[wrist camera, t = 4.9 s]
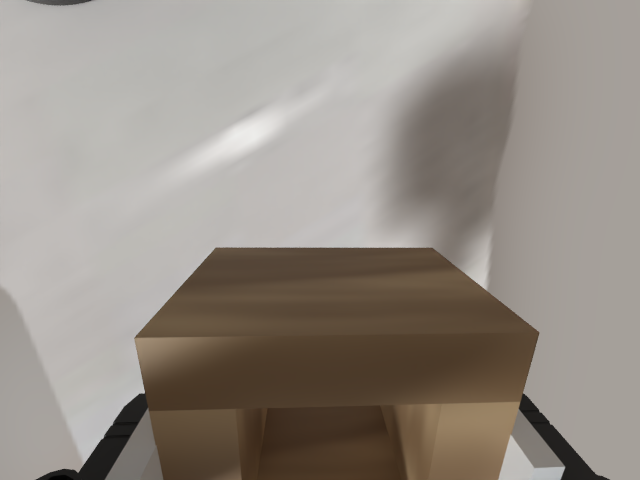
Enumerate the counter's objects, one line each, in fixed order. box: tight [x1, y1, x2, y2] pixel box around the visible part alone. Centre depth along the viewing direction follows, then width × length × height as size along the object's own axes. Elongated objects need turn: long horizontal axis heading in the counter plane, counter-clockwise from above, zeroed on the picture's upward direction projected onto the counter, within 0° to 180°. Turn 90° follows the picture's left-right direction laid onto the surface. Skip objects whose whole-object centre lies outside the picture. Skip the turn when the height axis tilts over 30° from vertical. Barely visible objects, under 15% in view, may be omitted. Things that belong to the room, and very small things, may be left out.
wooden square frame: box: [134, 248, 539, 480], centre depth 12 cm, size 14×9×6 cm, turn 179°
